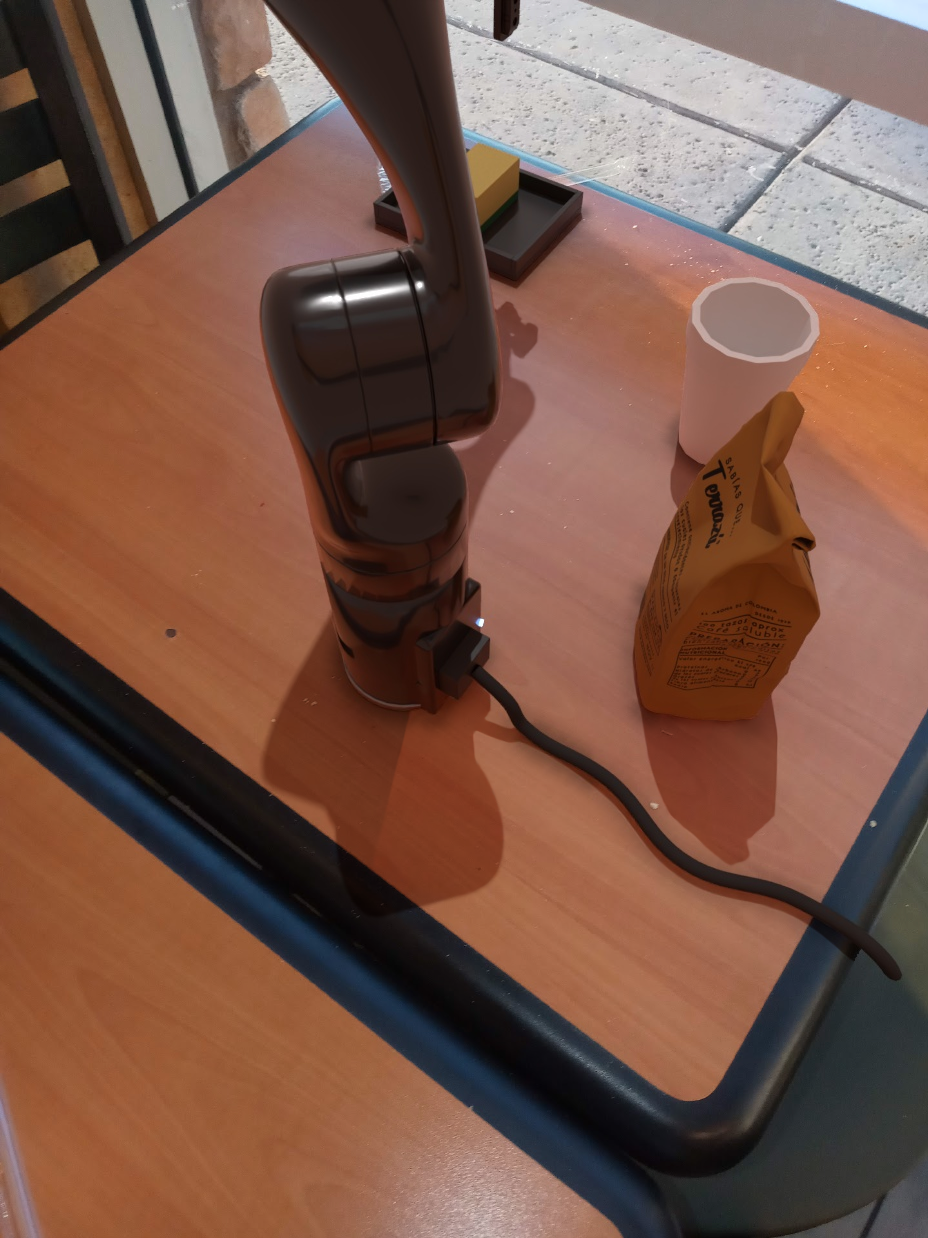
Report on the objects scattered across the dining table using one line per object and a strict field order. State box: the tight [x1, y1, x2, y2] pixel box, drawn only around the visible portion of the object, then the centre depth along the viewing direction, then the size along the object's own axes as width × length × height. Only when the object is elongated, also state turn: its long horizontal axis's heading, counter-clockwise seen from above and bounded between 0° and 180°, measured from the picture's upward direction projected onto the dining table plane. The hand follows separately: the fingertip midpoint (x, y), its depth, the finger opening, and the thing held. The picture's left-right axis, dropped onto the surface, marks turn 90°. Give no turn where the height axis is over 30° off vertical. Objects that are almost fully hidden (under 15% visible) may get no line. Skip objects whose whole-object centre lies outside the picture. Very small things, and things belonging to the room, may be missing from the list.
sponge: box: [467, 142, 521, 234], centre depth 92 cm, size 8×5×4 cm, turn 147°
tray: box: [372, 147, 585, 282], centre depth 94 cm, size 17×13×2 cm
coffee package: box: [633, 391, 821, 722], centre depth 58 cm, size 10×12×22 cm
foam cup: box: [678, 276, 821, 466], centre depth 73 cm, size 10×9×13 cm
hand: (461, 22), depth 77 cm, fingers open, 8 cm apart
